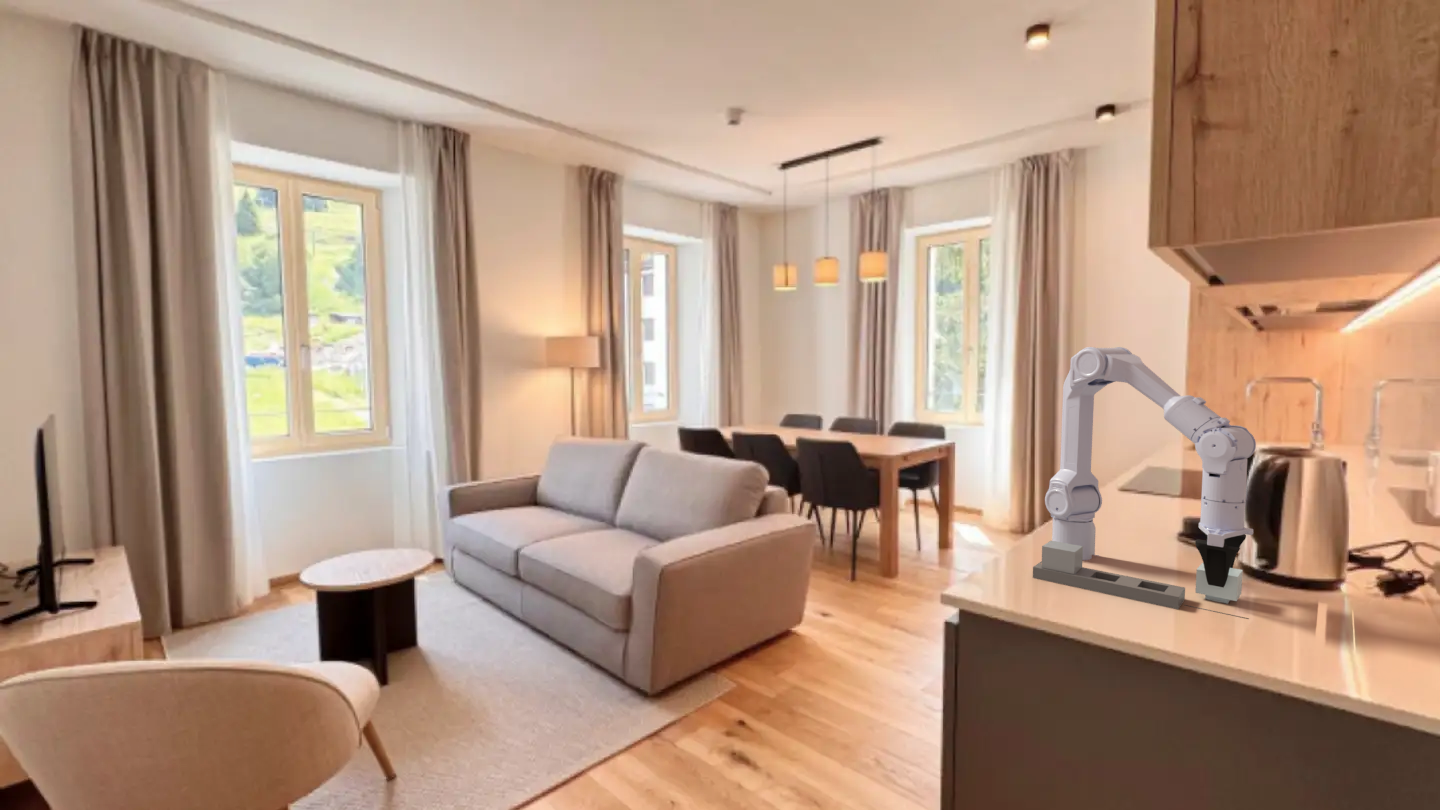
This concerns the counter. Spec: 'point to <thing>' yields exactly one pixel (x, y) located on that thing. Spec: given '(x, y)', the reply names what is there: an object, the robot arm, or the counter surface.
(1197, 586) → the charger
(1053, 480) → the robot arm
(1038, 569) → the power strip
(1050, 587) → the counter surface
